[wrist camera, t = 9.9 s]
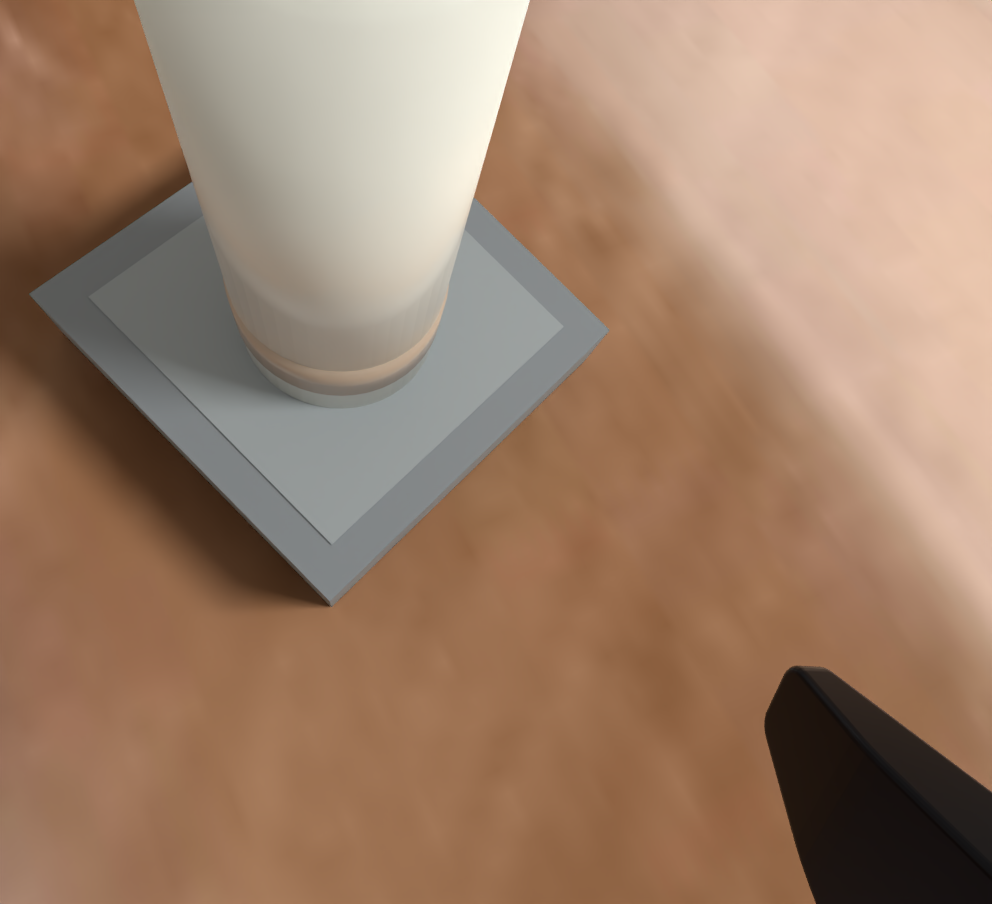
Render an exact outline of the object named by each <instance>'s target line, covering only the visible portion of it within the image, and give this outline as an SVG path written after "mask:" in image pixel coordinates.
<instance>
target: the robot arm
mask: <svg viewBox="0 0 992 904" xmlns="http://www.w3.org/2000/svg"><path fill="white" fill-rule="evenodd" d="M764 727H765V735H766V739H767V743H768V746H769V750H770V754H771V757H772V761H773V765H774V768H775V772H776V775H777V779H778V783H779V786H780V790H781V794H782V797H783V801H784V805H785V808H786V812H787V815H788V819H789V823H790V826H791V830H792V834H793V837H794V841H795V844H796V848H797V851H798V854H799V857H800V861H801V864H802V866H803V869H804V872H805V875H806V878H807V881H808V883H809V886H810V889H811V891H812V894H813V897H814V899H815V902H816V904H992V792H991V791H990V790H988V789H987V788H986V787H984V786H983V785H982V784H981V783H979V782H978V781H977V780H975V779H974V778H973V777H971V776H970V775H969V774H967V773H966V772H965V771H963V770H962V769H961V768H959V767H958V766H957V765H955V764H954V763H953V762H951V761H950V760H949V759H947V758H946V757H945V756H943V755H942V754H941V753H939V752H938V751H937V750H935V749H934V748H933V747H931V746H930V745H929V744H927V743H926V742H925V741H923V740H922V739H921V738H919V737H918V736H917V735H915V734H914V733H913V732H911V731H910V730H909V729H907V728H906V727H905V726H903V725H902V724H901V723H899V722H898V721H897V720H895V719H894V718H893V717H891V716H890V715H889V714H887V713H886V712H885V711H883V710H882V709H881V708H879V707H878V706H877V705H875V704H874V703H873V702H871V701H870V700H869V699H867V698H866V697H865V696H863V695H862V694H861V693H859V692H858V691H857V690H855V689H854V688H853V687H851V686H850V685H849V684H847V683H846V682H845V681H843V680H842V679H841V678H839V677H838V676H837V675H835V674H834V673H833V672H831V671H830V670H828V669H826V668H823V667H814V666H793V667H791V668H790V669H788V670H787V671H786V672H785V674H784V676H783V678H782V680H781V682H780V684H779V687H778V689H777V691H776V693H775V695H774V697H773V699H772V701H771V704H770V706H769V708H768V710H767V712H766V716H765V725H764Z"/></svg>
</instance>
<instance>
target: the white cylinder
mask: <svg viewBox="0 0 992 904" xmlns="http://www.w3.org/2000/svg"><path fill="white" fill-rule="evenodd" d="M134 1H135V5H136V8H137V11H138V14H139V17H140V20H141V23H142V26H143V29H144V33H145V36H146V39H147V42H148V45H149V48H150V51H151V54H152V58H153V61H154V64H155V67H156V70H157V73H158V76H159V79H160V82H161V86H162V89H163V92H164V95H165V98H166V101H167V104H168V107H169V110H170V114H171V117H172V120H173V123H174V126H175V129H176V132H177V135H178V138H179V142H180V145H181V148H182V151H183V154H184V157H185V160H186V163H187V166H188V170H189V173H190V176H191V179H192V182H193V185H194V188H195V191H196V194H197V198H198V201H199V204H200V207H201V210H202V213H203V216H204V219H205V222H206V226H207V229H208V232H209V235H210V238H211V241H212V244H213V247H214V250H215V254H216V257H217V260H218V263H219V266H220V269H221V272H222V275H223V282H224V287H225V292H226V295H227V298H228V301H229V304H230V307H231V310H232V313H233V316H234V320H235V322H236V325H237V328H238V331H239V333H240V335H241V337H242V339H243V341H244V343H245V346H246V349H247V351H248V353H249V355H250V357H251V359H252V361H253V363H254V364H255V365H256V367H257V368H258V369H259V371H260V372H261V373H262V374H263V375H264V376H265V377H266V378H267V379H268V380H269V381H270V382H271V383H272V384H273V385H275V386H276V387H277V388H278V389H280V390H281V391H283V392H284V393H286V394H288V395H289V396H291V397H293V398H296V399H298V400H300V401H302V402H305V403H309V404H312V405H315V406H320V407H326V408H340V409H343V408H356V407H361V406H366V405H369V404H372V403H375V402H378V401H381V400H383V399H385V398H387V397H389V396H391V395H393V394H394V393H396V392H397V391H399V390H400V389H402V388H403V387H404V386H405V385H406V384H407V383H409V382H410V381H411V380H412V378H413V377H414V376H415V375H416V374H417V373H418V371H419V370H420V368H421V367H422V365H423V364H424V362H425V360H426V358H427V356H428V353H429V351H430V348H431V345H432V343H433V341H434V338H435V336H436V333H437V330H438V327H439V324H440V320H441V317H442V313H443V310H444V306H445V303H446V299H447V295H448V288H449V281H450V278H451V274H452V271H453V267H454V264H455V260H456V257H457V253H458V250H459V246H460V243H461V239H462V236H463V232H464V229H465V225H466V222H467V218H468V215H469V211H470V208H471V204H472V201H473V197H474V194H475V190H476V187H477V183H478V180H479V176H480V173H481V169H482V166H483V162H484V159H485V155H486V152H487V148H488V145H489V141H490V138H491V134H492V131H493V127H494V124H495V120H496V117H497V113H498V110H499V106H500V103H501V99H502V96H503V92H504V89H505V85H506V82H507V78H508V74H509V71H510V67H511V64H512V60H513V57H514V53H515V50H516V46H517V43H518V39H519V36H520V32H521V29H522V25H523V22H524V18H525V15H526V11H527V8H528V4H529V1H530V0H134Z"/></svg>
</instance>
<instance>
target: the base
mask: <svg viewBox="0 0 992 904" xmlns="http://www.w3.org/2000/svg"><path fill="white" fill-rule="evenodd" d="M29 295H30V296H31V297H32V298H33V299H34V301H35V302H36V303H37V304H38V305H39V306H40V307H41V309H42V310H43V311H44V312H45V313H46V314H47V315H48V316H49V318H50V319H51V320H52V321H53V322H54V323H55V324H56V326H57V327H58V328H59V329H60V330H61V331H62V332H63V334H64V335H65V336H66V337H67V338H68V339H69V340H70V341H71V342H72V343H73V344H74V345H75V346H76V347H77V348H78V349H79V350H80V351H81V352H82V353H83V354H84V355H85V356H86V357H87V358H88V359H89V360H90V361H91V362H92V363H93V364H94V365H95V366H96V367H97V368H98V369H99V370H100V371H101V372H102V373H103V374H104V375H105V376H106V377H107V378H108V380H109V381H110V382H111V383H112V384H113V385H114V386H115V387H116V388H117V389H118V390H119V391H120V392H121V393H122V394H123V395H124V396H125V397H126V398H127V399H128V400H129V401H130V402H131V403H132V404H133V405H134V406H135V407H136V408H137V409H138V410H139V411H140V412H141V413H142V414H143V415H144V416H145V417H146V418H147V419H148V420H149V421H150V422H151V423H152V424H153V425H154V427H155V428H156V429H157V430H158V431H159V432H160V433H161V434H162V435H163V436H164V437H165V438H166V439H167V440H168V441H169V442H170V443H171V444H172V445H173V446H174V447H175V448H176V449H177V450H178V451H179V452H180V453H181V454H182V455H183V456H184V457H185V458H186V459H187V460H188V461H189V462H190V463H191V464H192V465H193V466H194V467H195V468H196V469H197V470H198V471H199V472H200V474H201V475H202V476H203V477H204V478H205V479H206V480H207V481H208V482H209V483H210V484H211V485H212V486H213V487H214V488H215V489H216V490H217V491H218V492H219V493H220V494H221V495H222V496H223V497H224V498H225V499H226V500H227V501H228V502H229V503H230V504H231V505H232V506H233V507H234V508H235V509H236V510H237V511H238V512H239V513H240V514H241V515H242V516H243V517H244V518H245V519H246V521H247V522H248V523H249V524H250V525H251V526H252V527H253V528H254V529H255V530H256V531H257V532H258V533H259V534H260V535H261V536H262V537H263V538H264V539H265V540H266V541H267V542H268V543H269V544H270V545H271V546H272V547H273V548H274V549H275V550H276V551H277V552H278V553H279V554H280V555H281V556H282V557H283V558H284V559H285V560H286V561H287V562H288V563H289V564H290V565H291V567H292V568H293V569H294V570H295V571H296V572H297V573H298V574H299V575H300V576H301V577H302V578H303V579H304V580H305V581H306V582H307V583H308V584H309V585H310V586H311V587H312V588H313V589H314V590H315V591H316V592H317V593H318V594H319V595H320V596H321V597H322V598H323V599H324V600H325V601H326V602H327V603H328V604H329V605H330V606H331V607H332V606H333V605H334V604H335V603H336V602H337V601H338V600H339V599H340V598H341V597H342V596H343V595H344V594H345V593H346V592H347V591H348V590H349V589H350V588H352V587H353V586H354V585H355V584H356V583H357V582H358V581H359V580H360V579H361V578H362V577H363V576H364V575H365V574H366V573H367V572H368V571H369V570H370V569H371V568H372V567H373V566H374V565H375V564H376V563H377V562H378V561H379V560H380V559H381V558H382V557H383V556H384V555H385V554H386V553H387V552H389V551H390V550H391V549H392V548H393V547H394V546H395V545H396V544H397V543H398V542H399V541H400V540H401V539H402V538H403V537H404V536H405V535H406V534H407V533H408V532H409V531H410V530H411V529H412V528H413V527H414V526H415V525H416V524H417V523H418V522H419V521H420V520H421V519H422V518H423V517H424V516H426V515H427V514H428V513H429V512H430V511H431V510H432V509H433V508H434V507H435V506H436V505H437V504H438V503H439V502H440V501H441V500H442V499H443V498H444V497H445V496H446V495H447V494H448V493H449V492H450V491H451V490H452V489H453V488H454V487H455V486H456V485H457V484H458V483H459V482H460V481H461V480H463V479H464V478H465V477H466V476H467V475H468V474H469V473H470V472H471V471H472V470H473V469H474V468H475V467H476V466H477V465H478V464H479V463H480V462H481V461H482V460H483V459H484V458H485V457H486V456H487V455H488V454H489V453H490V452H491V451H492V450H493V449H494V448H495V447H496V446H497V445H498V444H500V443H501V442H502V441H503V440H504V439H505V438H506V437H507V436H508V435H509V434H510V433H511V432H512V431H513V430H514V429H515V428H516V427H517V426H518V425H519V424H520V423H521V422H522V421H523V420H524V419H525V418H526V417H527V416H528V415H529V414H530V413H531V412H532V411H533V410H534V409H535V408H537V407H538V406H539V405H540V404H541V403H542V402H543V401H544V400H545V399H546V398H547V397H548V396H549V395H550V394H551V393H552V392H553V391H554V390H555V389H556V388H557V387H558V386H559V385H560V384H561V383H562V382H563V381H564V380H565V379H566V378H567V377H568V376H569V375H570V374H571V373H572V372H574V371H575V370H576V369H577V368H578V367H579V366H580V365H581V364H582V363H583V362H584V361H585V360H586V358H587V357H588V356H589V355H590V353H591V352H592V351H593V350H594V349H595V347H596V346H597V345H598V344H599V343H600V341H601V340H602V339H603V338H604V336H605V335H606V334H607V333H608V332H609V329H608V328H607V327H606V326H605V325H604V324H603V323H602V322H601V321H600V320H599V319H598V318H597V317H596V316H595V315H594V314H593V313H592V312H591V311H590V310H589V309H588V308H587V307H585V306H584V305H583V304H582V303H581V302H580V301H579V300H578V299H577V298H576V297H575V296H574V295H573V294H572V293H571V292H570V291H569V290H568V289H567V288H566V287H565V286H564V285H563V284H562V283H561V282H560V281H559V280H558V279H557V278H556V277H555V276H554V275H553V274H552V273H551V272H550V271H549V270H548V269H547V268H546V267H545V266H543V265H542V264H541V263H540V262H539V261H538V260H537V259H536V258H535V257H534V256H533V255H532V254H531V253H530V252H529V251H528V250H527V249H526V248H525V247H524V246H523V245H522V244H521V243H520V242H519V241H518V240H517V239H516V238H515V237H514V236H513V235H512V234H511V233H510V232H509V231H508V230H507V229H506V228H505V227H504V226H502V225H501V224H500V223H499V222H498V221H497V220H496V219H495V218H494V217H493V216H492V215H491V214H490V213H489V212H488V211H487V210H486V209H485V208H484V207H483V206H482V205H481V204H480V203H479V202H478V201H477V200H476V199H475V198H474V197H473V201H472V204H471V208H470V211H469V215H468V218H467V222H466V225H465V229H464V232H463V236H462V239H461V243H460V246H459V250H458V253H457V257H456V260H455V264H454V267H453V271H452V274H451V278H450V281H449V288H448V295H447V299H446V303H445V306H444V310H443V313H442V317H441V320H440V324H439V327H438V330H437V333H436V336H435V338H434V341H433V343H432V345H431V348H430V351H429V353H428V356H427V358H426V360H425V362H424V364H423V365H422V367H421V368H420V370H419V371H418V373H417V374H416V375H415V376H414V377H413V378H412V380H411V381H410V382H409V383H407V384H406V385H405V386H404V387H403V388H402V389H400V390H399V391H397V392H396V393H394V394H393V395H391V396H389V397H387V398H385V399H383V400H381V401H378V402H375V403H372V404H369V405H366V406H361V407H356V408H343V409H340V408H326V407H320V406H315V405H312V404H309V403H305V402H302V401H300V400H298V399H296V398H293V397H291V396H289V395H288V394H286V393H284V392H283V391H281V390H280V389H278V388H277V387H276V386H275V385H273V384H272V383H271V382H270V381H269V380H268V379H267V378H266V377H265V376H264V375H263V374H262V373H261V372H260V371H259V369H258V368H257V367H256V365H255V364H254V363H253V361H252V359H251V357H250V355H249V353H248V351H247V349H246V346H245V343H244V341H243V339H242V337H241V335H240V333H239V331H238V328H237V325H236V322H235V320H234V316H233V313H232V310H231V307H230V304H229V301H228V298H227V295H226V292H225V287H224V282H223V275H222V272H221V269H220V266H219V263H218V260H217V257H216V254H215V250H214V247H213V244H212V241H211V238H210V235H209V232H208V229H207V226H206V222H205V219H204V216H203V213H202V210H201V207H200V204H199V201H198V198H197V194H196V191H195V188H194V185H193V182H191V183H190V184H188V185H187V186H185V187H184V188H182V189H181V190H179V191H178V192H176V193H175V194H174V195H172V196H171V197H169V198H168V199H166V200H165V201H163V202H162V203H160V204H159V205H158V206H156V207H155V208H153V209H152V210H150V211H149V212H147V213H146V214H144V215H143V216H142V217H140V218H139V219H137V220H136V221H134V222H133V223H131V224H130V225H128V226H127V227H126V228H124V229H123V230H121V231H120V232H118V233H117V234H115V235H114V236H112V237H111V238H109V239H108V240H107V241H105V242H104V243H102V244H101V245H99V246H98V247H96V248H95V249H93V250H92V251H91V252H89V253H88V254H86V255H85V256H83V257H82V258H80V259H79V260H77V261H76V262H75V263H73V264H72V265H70V266H69V267H67V268H66V269H64V270H63V271H61V272H60V273H59V274H57V275H56V276H54V277H53V278H51V279H50V280H48V281H47V282H45V283H44V284H43V285H41V286H40V287H38V288H37V289H35V290H34V291H32V292H31V293H29Z"/></svg>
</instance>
